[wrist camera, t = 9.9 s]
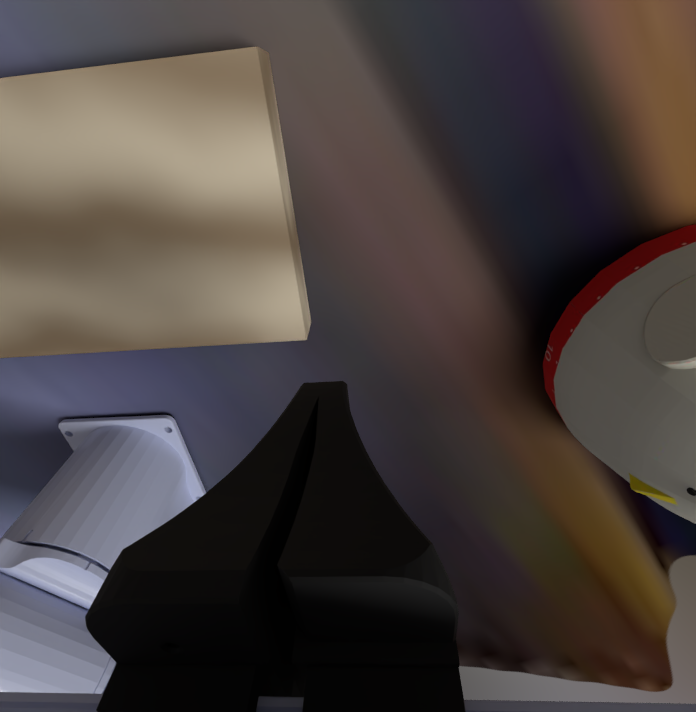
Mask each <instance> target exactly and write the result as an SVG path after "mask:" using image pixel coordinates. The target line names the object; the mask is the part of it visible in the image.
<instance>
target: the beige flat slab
mask: <svg viewBox="0 0 696 712" xmlns="http://www.w3.org/2000/svg"><path fill="white" fill-rule="evenodd" d="M310 325H311V317H310V311H309V305H308V298H307V292H306V286H305V279H304V273H303V267H302V260H301V254H300V248H299V241H298V235H297V229H296V222H295V216H294V210H293V203H292V197H291V191H290V184H289V178H288V172H287V165H286V159H285V153H284V146H283V140H282V134H281V127H280V121H279V115H278V108H277V102H276V96H275V89H274V83H273V77H272V70H271V64H270V58H269V53H268V52H266V51H264V50H262V49H261V48H259V47H249V48H241V49H233V50H225V51H217V52H208V53H200V54H192V55H184V56H176V57H168V58H160V59H151V60H143V61H135V62H127V63H119V64H111V65H103V66H95V67H86V68H78V69H70V70H62V71H54V72H46V73H38V74H29V75H21V76H13V77H5V78H0V358H9V357H26V356H43V355H60V354H77V353H93V352H110V351H127V350H144V349H161V348H178V347H195V346H212V345H229V344H246V343H263V342H280V341H297V340H307V336H308V333H309V329H310Z"/></svg>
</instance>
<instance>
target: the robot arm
mask: <svg viewBox="0 0 696 712" xmlns="http://www.w3.org/2000/svg"><path fill="white" fill-rule="evenodd" d="M58 427H59V429H60V431H61V432H62V434H63V435H64V437H65V439H66V440H67V442H68V443H69V445H70V446H71V448H72V449H73V451H74V452H73V454H72V455H71V456H70V457H69V458H68V459H67V461H66V462H65V463H64V464H63V465H62V467H61V468H60V469H59V470H58V471H57V472H56V474H55V475H54V476H53V477H52V478H51V480H50V481H49V482H48V483H47V484H46V486H45V487H44V488H43V489H42V490H41V491H40V493H39V494H38V495H37V496H36V497H35V499H34V500H33V501H32V502H31V503H30V504H29V506H28V507H27V508H26V509H25V510H24V512H23V513H22V514H21V515H20V516H19V518H18V519H17V520H16V521H15V522H14V523H13V525H12V526H11V527H10V528H9V529H8V531H7V532H6V533H5V534H4V535H3V536H2V538H1V539H0V712H696V704H670V703H669V704H668V703H667V704H666V703H613V702H612V703H611V702H555V701H553V702H551V701H497V700H496V701H495V700H464V699H463V692H462V686H461V680H460V674H459V668H458V667H459V656H458V650H457V644H456V632H457V623H458V605H457V601H456V598H455V594H454V591H453V588H452V585H451V583H450V580H449V578H448V575H447V573H446V571H445V569H444V567H443V565H442V562H441V560H440V558H439V556H438V554H437V552H436V550H435V548H434V546H433V544H432V543H431V542H430V541H429V540H428V539H427V537H426V536H425V535H424V534H423V533H422V532H421V531H420V529H419V528H418V527H417V526H416V525H415V524H414V522H413V521H412V520H411V519H410V517H409V516H408V515H407V514H406V512H405V511H404V510H403V509H402V507H401V506H400V505H399V503H398V502H397V500H396V499H395V498H394V496H393V495H392V493H391V492H390V490H389V489H388V487H387V486H386V485H385V483H384V482H383V480H382V478H381V477H380V475H379V473H378V472H377V470H376V468H375V467H374V465H373V463H372V461H371V459H370V458H369V456H368V454H367V452H366V450H365V448H364V445H363V443H362V441H361V439H360V437H359V434H358V432H357V429H356V427H355V424H354V421H353V418H352V415H351V412H350V407H349V398H348V389H347V384H346V383H345V382H343V381H336V382H316V383H304V384H303V385H302V386H301V387H300V389H299V390H298V392H297V393H296V395H295V396H294V398H293V399H292V401H291V402H290V403H289V405H288V406H287V408H286V409H285V410H284V412H283V413H282V414H281V416H280V417H279V418H278V420H277V421H276V422H275V424H274V425H273V426H272V428H271V429H270V430H269V431H268V432H267V434H266V435H265V436H264V437H263V438H262V440H261V441H260V442H259V443H258V444H257V445H256V447H255V448H254V449H253V450H252V451H251V452H250V453H249V454H248V455H247V456H246V457H245V458H244V459H243V460H242V461H241V462H240V463H239V464H238V465H237V466H236V467H235V468H234V469H233V470H232V471H231V472H230V473H229V474H228V475H227V476H226V477H225V478H223V479H222V480H221V481H220V482H219V483H217V484H216V485H215V486H214V487H213V488H212V489H210V490H209V491H208V492H207V493H206V491H205V489H204V487H203V484H202V482H201V480H200V477H199V475H198V473H197V470H196V468H195V466H194V463H193V461H192V459H191V456H190V454H189V452H188V449H187V447H186V445H185V442H184V440H183V438H182V435H181V433H180V431H179V428H178V426H177V424H176V421H175V419H174V418H173V417H171V416H169V415H152V416H130V417H107V418H85V419H65V420H62V421H61V422H60V423H59V424H58ZM168 427H169V428H168ZM170 428H171V429H170Z"/></svg>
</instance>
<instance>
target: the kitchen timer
mask: <svg viewBox="0 0 696 712" xmlns="http://www.w3.org/2000/svg"><path fill="white" fill-rule="evenodd" d="M543 372H544V382H545V390H546V392H547V394H548V395H549V397H550V399H551V401H552V403H553V405H554V406H555V408H556V410H557V412H558V413H559V415H560V417H561V418H562V420H563V421H564V423H565V425H566V426H567V428H568V429H569V430H570V432H571V433H572V434H573V435H574V436H575V438H576V439H577V440H578V441H579V442H580V443H581V444H582V445H583V446H585V447H586V448H587V449H588V450H589V451H590V452H591V453H593V454H594V455H595V456H596V457H598V458H599V459H600V460H601V461H603V462H604V463H605V464H607V465H608V466H609V467H610V468H612V469H613V470H614V471H615V472H617V473H618V474H619V475H621V476H622V477H623V478H624V479H626V480H627V481H628V482H630V485H631V489H632V490H634V491H635V492H638V493H641V494H645V495H647V496H648V497H649V498H651V499H652V500H654V501H655V502H657V503H658V504H660V505H661V506H663V507H665V508H666V509H668V510H670V511H672V512H673V513H675V514H677V515H679V516H681V517H683V518H685V519H687V520H689V521H691V522H693V523H695V524H696V224H695V225H689V226H685V227H683V228H680V229H678V230H675V231H673V232H670V233H668V234H665V235H663V236H660V237H658V238H655V239H653V240H650V241H648V242H645V243H643V244H641V245H639V246H637V247H636V248H634V249H633V250H631V251H630V252H628V253H627V254H625V255H624V256H622V257H621V258H619V259H618V260H616V261H615V262H613V263H612V264H610V265H609V266H607V267H606V268H604V269H603V270H601V271H600V272H599V273H598V274H597V275H596V276H595V277H594V278H593V279H592V280H591V281H590V282H589V283H588V284H587V285H586V286H585V287H584V288H583V289H582V290H581V291H580V292H579V293H578V294H577V295H576V296H575V297H574V298H573V299H572V300H571V301H570V303H569V304H568V306H567V307H566V309H565V311H564V312H563V314H562V316H561V317H560V319H559V321H558V322H557V324H556V326H555V327H554V329H553V331H552V332H551V334H550V338H549V342H548V345H547V349H546V353H545V357H544V360H543Z"/></svg>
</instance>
